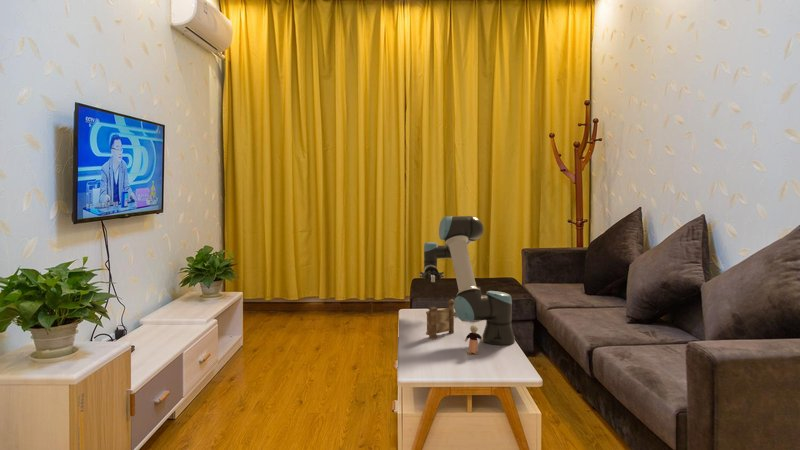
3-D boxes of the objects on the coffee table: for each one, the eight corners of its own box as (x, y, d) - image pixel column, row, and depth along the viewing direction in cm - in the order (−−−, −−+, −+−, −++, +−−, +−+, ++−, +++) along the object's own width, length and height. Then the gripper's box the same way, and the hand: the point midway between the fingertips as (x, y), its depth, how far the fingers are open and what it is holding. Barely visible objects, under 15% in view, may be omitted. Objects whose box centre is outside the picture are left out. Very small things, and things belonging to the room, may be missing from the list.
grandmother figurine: (465, 354, 225) (465, 326, 224) (464, 352, 229) (464, 323, 228) (483, 354, 225) (483, 326, 224) (481, 352, 229) (482, 323, 228)
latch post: (437, 338, 250) (437, 307, 249) (432, 339, 248) (432, 308, 247) (433, 337, 252) (433, 306, 251) (428, 338, 250) (428, 307, 249)
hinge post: (455, 333, 259) (455, 299, 258) (450, 334, 258) (450, 300, 256) (451, 331, 262) (452, 298, 260) (446, 332, 260) (447, 299, 259)
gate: (447, 330, 259) (447, 307, 259) (449, 330, 258) (450, 308, 257) (426, 334, 252) (426, 311, 251) (428, 335, 250) (428, 312, 249)
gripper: (443, 279, 287) (446, 287, 263) (419, 279, 287) (419, 286, 263) (443, 265, 286) (446, 272, 263) (419, 265, 286) (419, 272, 263)
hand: (433, 279), depth 263 cm, fingers closed
